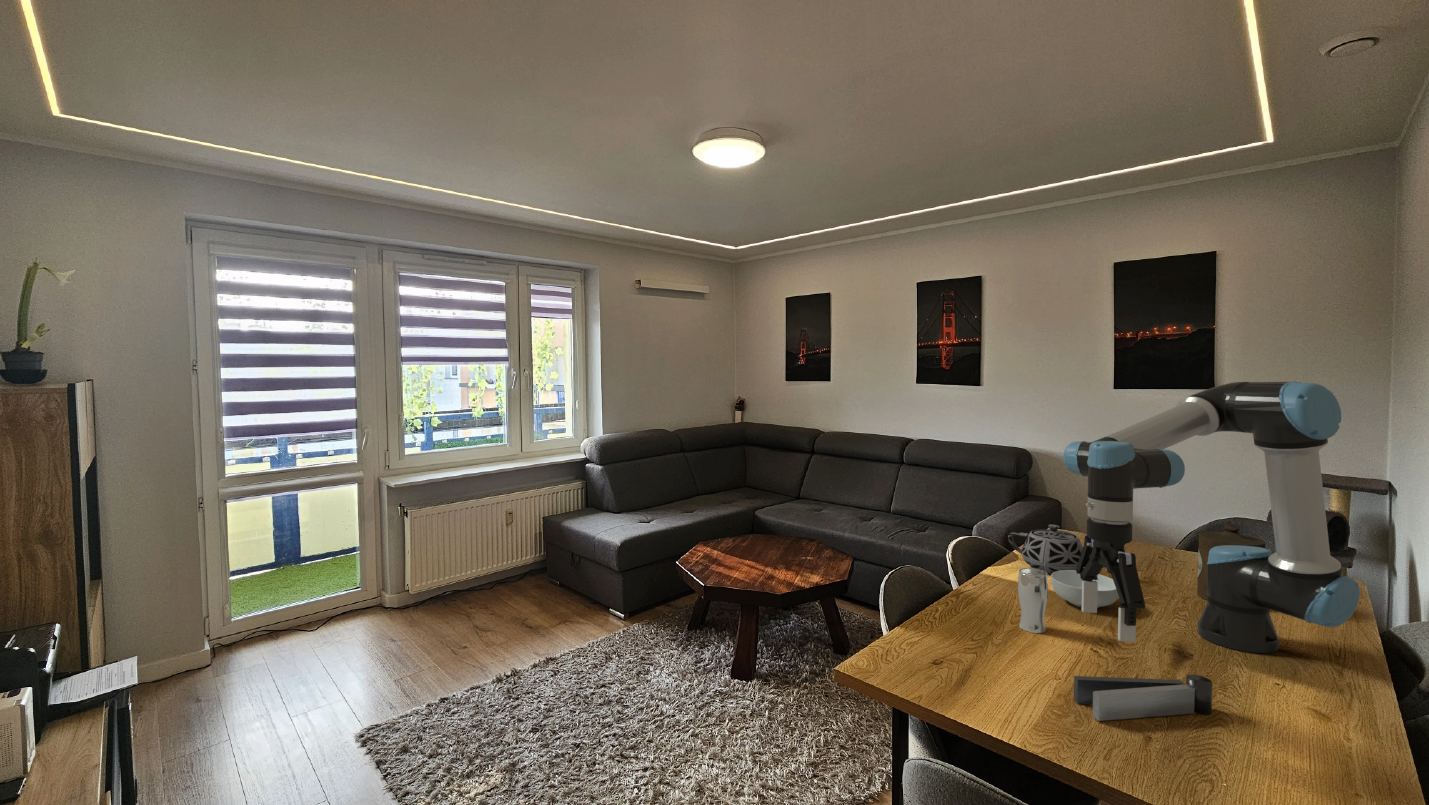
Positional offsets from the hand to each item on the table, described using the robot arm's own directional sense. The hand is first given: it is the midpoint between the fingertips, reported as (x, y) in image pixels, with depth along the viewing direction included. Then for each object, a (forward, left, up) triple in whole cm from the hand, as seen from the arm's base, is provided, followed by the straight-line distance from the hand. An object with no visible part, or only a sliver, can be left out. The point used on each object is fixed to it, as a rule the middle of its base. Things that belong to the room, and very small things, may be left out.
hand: (1106, 625), depth 119 cm
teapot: (+3, -89, -17) cm, 91 cm away
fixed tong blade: (-6, -2, -16) cm, 18 cm away
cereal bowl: (-2, -59, -17) cm, 62 cm away
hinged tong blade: (-6, +1, -16) cm, 17 cm away
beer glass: (+12, -34, -17) cm, 40 cm away
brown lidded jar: (-40, -79, -17) cm, 91 cm away
